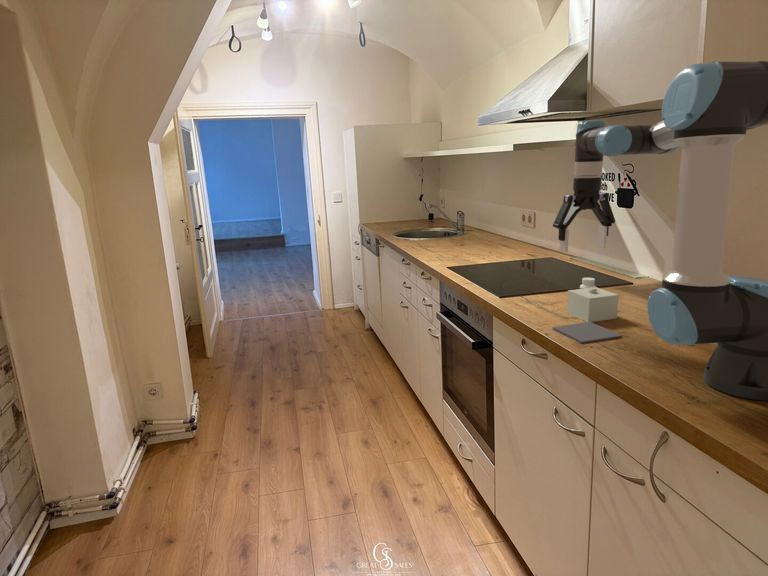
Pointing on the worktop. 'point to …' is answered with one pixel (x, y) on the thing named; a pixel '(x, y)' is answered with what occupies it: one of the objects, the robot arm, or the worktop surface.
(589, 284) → the pill bottle
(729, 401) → the worktop surface
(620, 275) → the worktop surface
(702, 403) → the worktop surface
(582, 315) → the cover
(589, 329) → the mat
